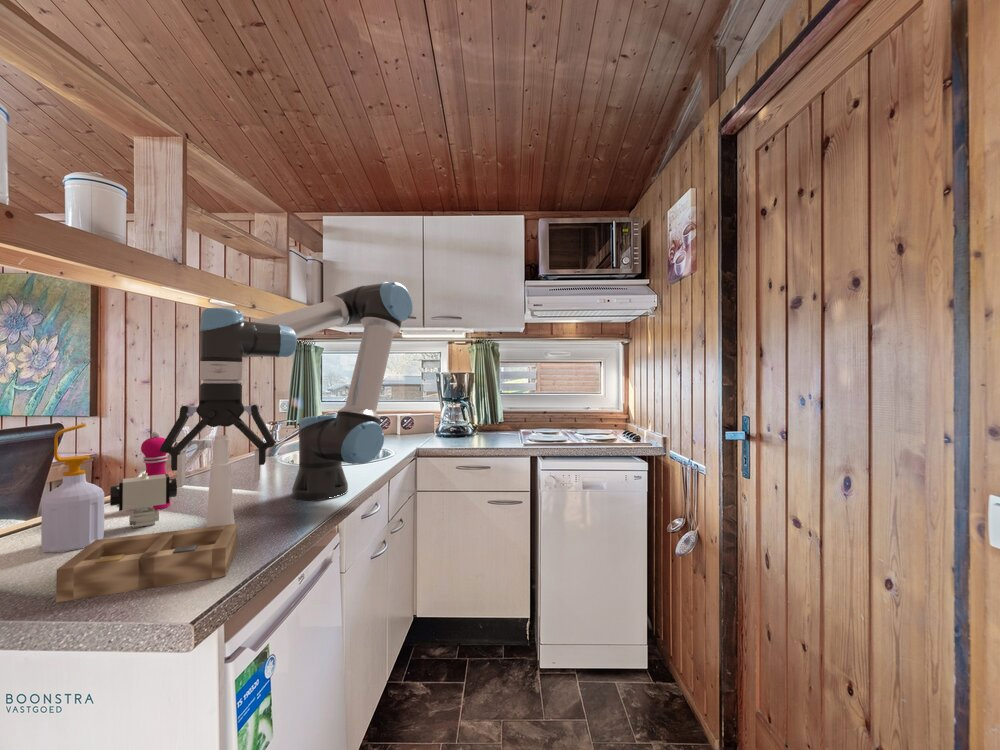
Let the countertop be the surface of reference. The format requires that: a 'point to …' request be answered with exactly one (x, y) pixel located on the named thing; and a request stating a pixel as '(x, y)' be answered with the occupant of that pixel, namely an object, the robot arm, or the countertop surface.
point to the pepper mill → (154, 459)
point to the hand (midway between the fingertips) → (220, 483)
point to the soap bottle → (72, 507)
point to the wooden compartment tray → (147, 562)
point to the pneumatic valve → (143, 496)
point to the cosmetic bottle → (220, 486)
